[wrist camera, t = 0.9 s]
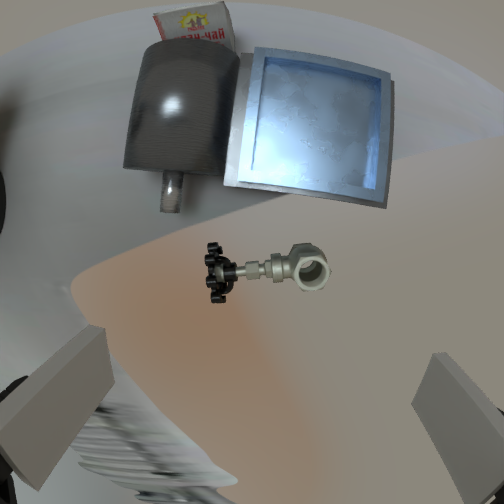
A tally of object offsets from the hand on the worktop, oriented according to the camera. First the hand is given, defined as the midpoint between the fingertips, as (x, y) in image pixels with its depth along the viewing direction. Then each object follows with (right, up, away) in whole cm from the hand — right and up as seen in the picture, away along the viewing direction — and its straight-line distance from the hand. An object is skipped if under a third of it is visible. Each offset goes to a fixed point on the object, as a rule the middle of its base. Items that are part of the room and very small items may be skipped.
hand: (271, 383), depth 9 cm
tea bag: (-6, +29, +18) cm, 35 cm away
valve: (+1, +4, +23) cm, 23 cm away
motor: (0, +17, +20) cm, 26 cm away
